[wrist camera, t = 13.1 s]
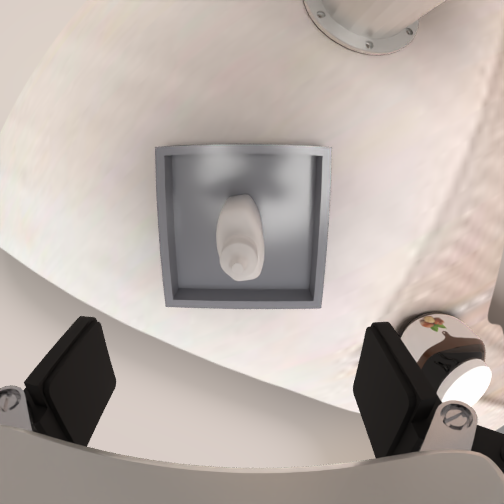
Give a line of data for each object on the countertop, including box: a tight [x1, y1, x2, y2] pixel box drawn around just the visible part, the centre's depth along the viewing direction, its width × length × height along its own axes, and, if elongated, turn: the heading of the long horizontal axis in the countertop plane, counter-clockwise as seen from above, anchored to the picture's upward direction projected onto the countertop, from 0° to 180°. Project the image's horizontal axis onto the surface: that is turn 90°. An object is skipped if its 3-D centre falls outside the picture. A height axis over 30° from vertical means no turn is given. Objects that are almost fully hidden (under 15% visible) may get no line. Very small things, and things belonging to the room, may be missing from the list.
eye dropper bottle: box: [216, 194, 264, 281], centre depth 24 cm, size 4×6×12 cm
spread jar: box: [400, 312, 492, 407], centre depth 30 cm, size 12×11×12 cm
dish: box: [155, 144, 332, 309], centre depth 29 cm, size 15×15×4 cm
